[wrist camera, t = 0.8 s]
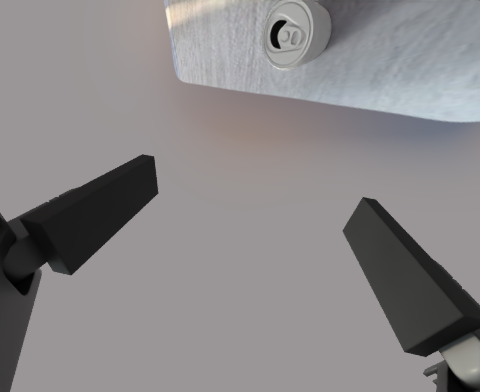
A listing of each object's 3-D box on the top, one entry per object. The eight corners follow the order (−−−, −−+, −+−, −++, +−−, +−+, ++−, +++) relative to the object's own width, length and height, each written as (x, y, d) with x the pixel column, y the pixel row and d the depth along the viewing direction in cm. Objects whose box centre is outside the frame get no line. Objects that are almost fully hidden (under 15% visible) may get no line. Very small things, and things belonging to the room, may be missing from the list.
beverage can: (296, 1, 26) (265, -14, 18) (341, 9, 24) (329, -3, 16) (282, 56, 30) (253, 64, 22) (320, 66, 29) (302, 78, 21)
